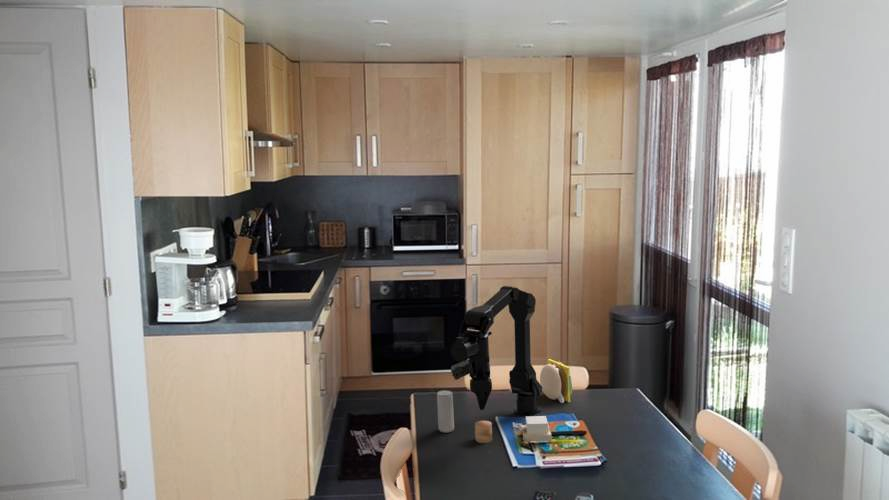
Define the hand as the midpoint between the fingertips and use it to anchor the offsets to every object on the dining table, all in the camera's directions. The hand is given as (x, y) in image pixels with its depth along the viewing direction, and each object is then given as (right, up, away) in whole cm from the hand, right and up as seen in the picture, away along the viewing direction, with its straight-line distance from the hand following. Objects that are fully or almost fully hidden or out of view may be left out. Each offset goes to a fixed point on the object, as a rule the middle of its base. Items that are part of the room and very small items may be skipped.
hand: (481, 404), depth 208 cm
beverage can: (-10, -10, +10) cm, 18 cm away
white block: (+16, -8, 0) cm, 18 cm away
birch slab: (+16, -11, +1) cm, 19 cm away
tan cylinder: (+1, -11, +1) cm, 11 cm away
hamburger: (+27, -6, +35) cm, 44 cm away
